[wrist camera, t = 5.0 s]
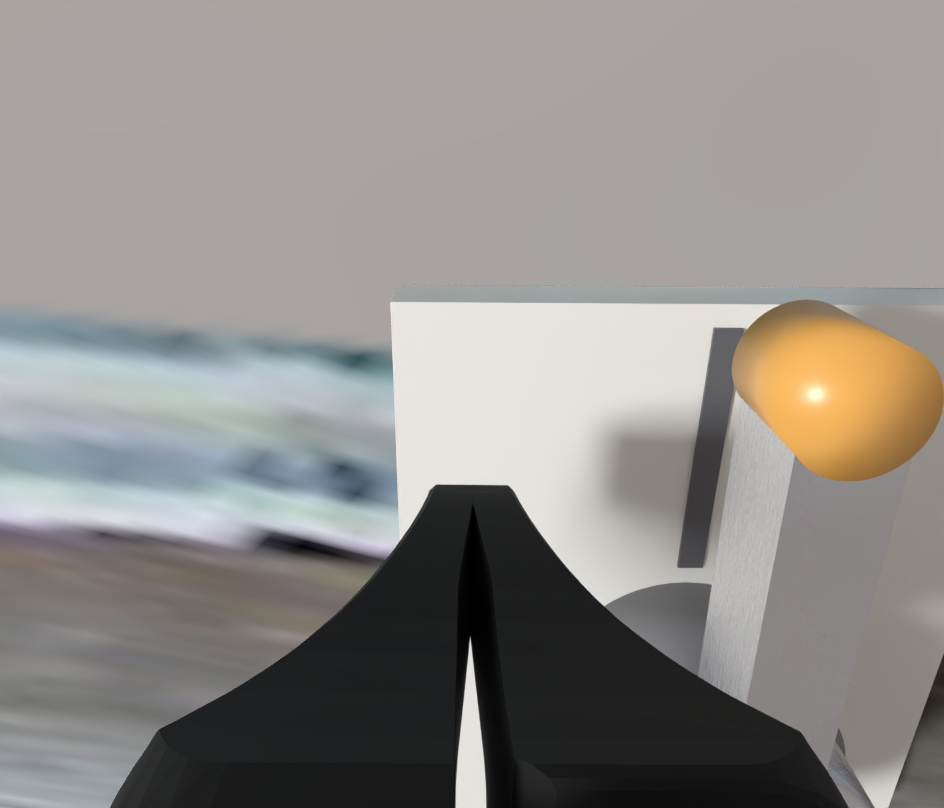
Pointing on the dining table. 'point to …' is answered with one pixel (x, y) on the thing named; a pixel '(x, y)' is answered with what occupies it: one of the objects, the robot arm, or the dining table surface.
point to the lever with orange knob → (811, 513)
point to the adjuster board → (652, 466)
